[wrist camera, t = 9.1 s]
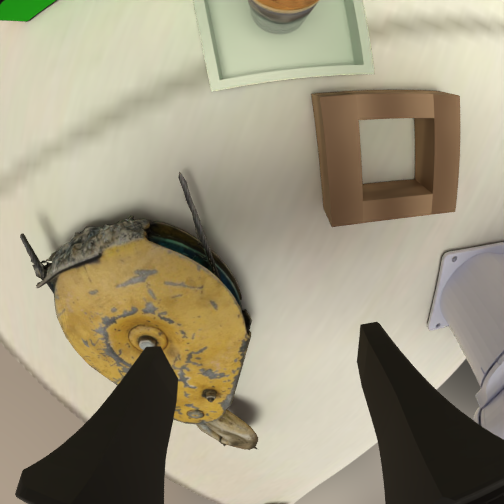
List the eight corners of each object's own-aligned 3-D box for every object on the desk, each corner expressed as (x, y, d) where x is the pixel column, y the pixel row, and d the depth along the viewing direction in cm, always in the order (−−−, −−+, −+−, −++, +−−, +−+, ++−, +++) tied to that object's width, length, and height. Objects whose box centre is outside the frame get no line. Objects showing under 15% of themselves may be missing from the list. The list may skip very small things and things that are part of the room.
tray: (336, -50, 11) (346, -63, 9) (361, 73, 15) (374, 74, 13) (192, -35, 11) (183, -47, 10) (216, 89, 16) (211, 91, 14)
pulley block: (176, 473, 29) (-11, 262, 14) (176, 433, 34) (27, 222, 19) (296, 451, 29) (197, 180, 14) (286, 411, 34) (200, 154, 19)
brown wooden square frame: (437, 91, 15) (459, 95, 13) (436, 195, 18) (455, 211, 16) (311, 93, 16) (319, 96, 13) (323, 208, 19) (331, 226, 17)
